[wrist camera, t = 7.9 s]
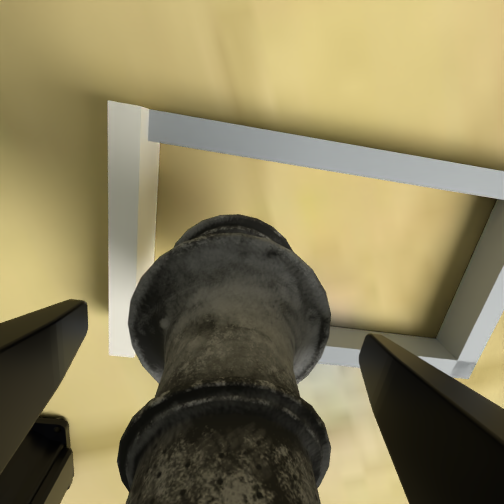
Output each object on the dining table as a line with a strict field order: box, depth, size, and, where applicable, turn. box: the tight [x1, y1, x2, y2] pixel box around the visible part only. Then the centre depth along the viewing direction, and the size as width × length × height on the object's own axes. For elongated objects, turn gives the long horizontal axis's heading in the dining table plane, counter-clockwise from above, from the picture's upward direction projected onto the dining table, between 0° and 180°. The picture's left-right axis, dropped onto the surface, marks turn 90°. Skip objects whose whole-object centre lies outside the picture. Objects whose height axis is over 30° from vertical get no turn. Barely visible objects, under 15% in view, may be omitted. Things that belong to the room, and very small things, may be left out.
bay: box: [108, 101, 504, 379], centre depth 15 cm, size 20×11×3 cm, turn 81°
